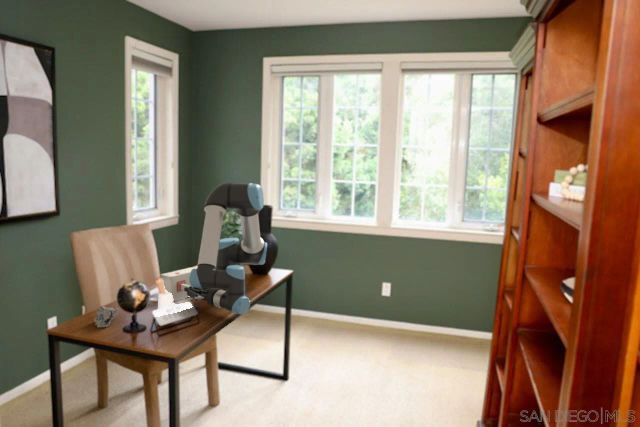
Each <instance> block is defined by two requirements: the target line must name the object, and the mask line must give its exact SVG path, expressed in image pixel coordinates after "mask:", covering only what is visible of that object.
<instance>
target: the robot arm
mask: <svg viewBox="0 0 640 427" xmlns="http://www.w3.org/2000/svg"><path fill="white" fill-rule="evenodd" d="M264 202H265V201H264V190H263V188H262V186H261V185H260V184H258V183H254V182H253V183H252V182H250V183H246V182H245V183H244V182H223V183H219V184H218V185H217V186H216V187H214V188H213V189H212V191H210V193H209V194H208V196H207V198H206V200H205V202H204V209H203V210H204V212H205V217H204V224H203V228H202V234H201V241H200V248H199V254H198V258H197V259H198V260H197V266H198V267H197V269H192V270H191V273H190V285H191V286H190V285H186V284H181V290H182V291H185V292H187V295H188V296H190V297H189V298H192V299H193V300H194V301H199V300H200V299H201V300H203V301H205V302H207V304H208V305H210V306H212V307H216V308H220V309H222V310H225V311H228V312H231V313H233V314H237V315H244V314H246V313H247V312H248V311H249V310H250V307H251V301H250V298H249V297H248V296H246V291H245V292H244V286H245V284H246V283H245V282H246V281H245V280H246V276H245V267H244V266H243V265H255V266H258V265H264V264H265V263H266V258H267V250H268V249H267V248H268V243H267V242H265V241H264V239H263V238H262V237H261V231H260V219H259V212H260V211H261V210H263V208H264ZM227 209H230V210H231V209H233V210H235V212H236V214H238V215H239V220H240V225H241V226H240V227H241V233H242V240H240V239H239V238H238V237H226V238H225V237H224V238H221V233H222V227H223V220H224V215H226V213H227ZM245 287H246V286H245ZM224 289H225V290H224Z"/></svg>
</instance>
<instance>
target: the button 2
mask: <svg viewBox="0 0 640 427" xmlns="http://www.w3.org/2000/svg"><path fill="white" fill-rule="evenodd" d="M181 284H186V281H180V282H177V291H178V292H180V291H182V290H181Z"/></svg>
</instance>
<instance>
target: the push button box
mask: <svg viewBox="0 0 640 427" xmlns="http://www.w3.org/2000/svg"><path fill="white" fill-rule="evenodd" d="M197 267H198V265H194V266H189V267H186V268H181V269H177V270H172V271H168V272H164V273H160V276H159V278H160V277H161V278H163V280H164V286H165V289H166V290H167V291H168V292H170V293H172V295H173V298H174V301H175V302H179V301H182V300H185V299H184V298H186V299H188V298H187V297H188V295H187V292H185V291H180V292H178V291H177V282H180V281H186V285H190V273H191V270H192V269H197ZM190 286H191V285H190ZM181 299H182V300H181ZM178 300H179V301H178ZM175 302H174V303H175Z"/></svg>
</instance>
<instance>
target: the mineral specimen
mask: <svg viewBox="0 0 640 427" xmlns="http://www.w3.org/2000/svg"><path fill="white" fill-rule="evenodd" d="M119 312H120V309H119V308H118V307H106V306H104V305H102V306H100V307H99V309H98V312H96V313H97V314H96V315H97V317H95V318H94V320H93V321H94V326H96V327H97V329H100V328H107V327H109V326H110V325H111V321H112V320H113V319H115V317H116V315H118V314H119Z"/></svg>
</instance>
